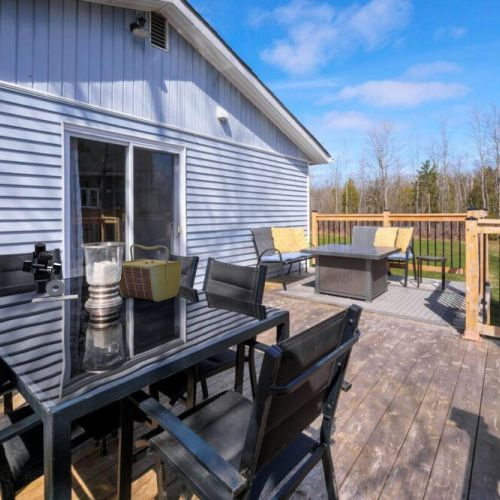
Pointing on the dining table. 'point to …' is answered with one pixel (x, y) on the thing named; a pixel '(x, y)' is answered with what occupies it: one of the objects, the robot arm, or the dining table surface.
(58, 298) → the placemat
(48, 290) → the donut
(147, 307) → the dining table surface
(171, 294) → the picnic basket
